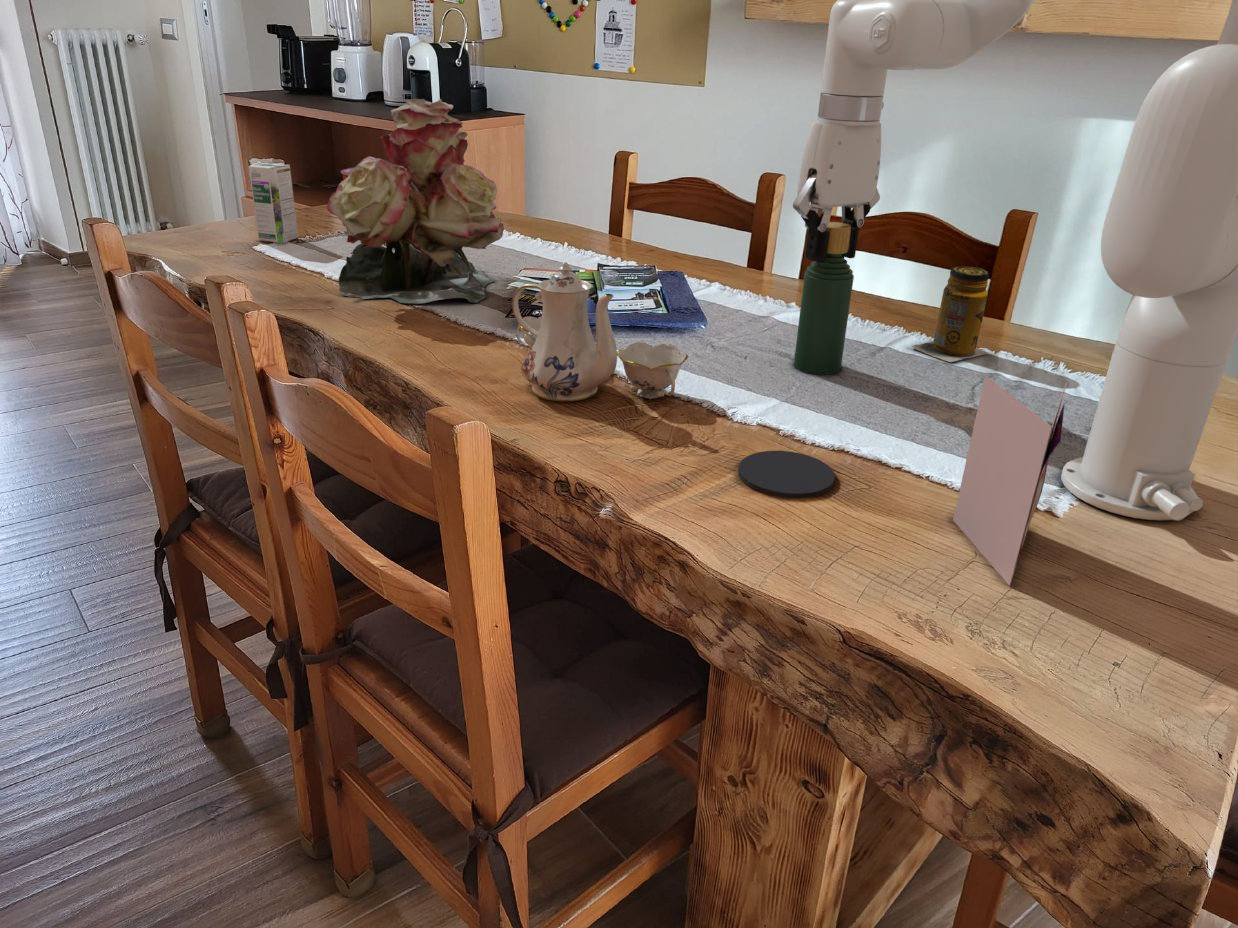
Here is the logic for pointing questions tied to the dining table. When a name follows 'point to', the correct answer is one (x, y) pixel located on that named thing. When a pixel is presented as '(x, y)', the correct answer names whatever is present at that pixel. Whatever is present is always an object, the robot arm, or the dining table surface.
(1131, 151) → the robot arm
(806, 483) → the coaster
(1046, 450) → the greeting card
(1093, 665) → the dining table surface
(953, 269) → the condiment
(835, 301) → the bottle
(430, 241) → the rose bouquet
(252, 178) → the syrup box
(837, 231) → the cap
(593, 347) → the chinaware
